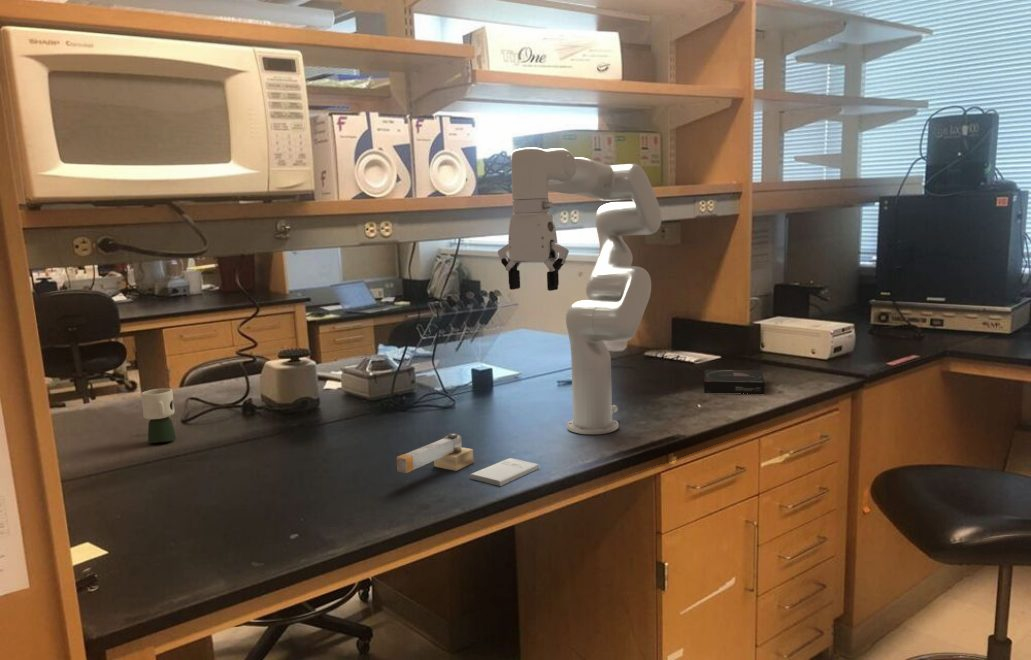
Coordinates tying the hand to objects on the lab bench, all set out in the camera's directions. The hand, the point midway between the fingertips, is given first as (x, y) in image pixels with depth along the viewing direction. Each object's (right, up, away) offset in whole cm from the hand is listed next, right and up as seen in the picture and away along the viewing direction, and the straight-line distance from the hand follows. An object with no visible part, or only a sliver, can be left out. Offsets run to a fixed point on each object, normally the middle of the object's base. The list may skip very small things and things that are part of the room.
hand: (533, 289), depth 163 cm
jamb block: (-17, -38, +1) cm, 41 cm away
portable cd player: (+60, -26, +61) cm, 90 cm away
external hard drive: (-6, -39, -5) cm, 40 cm away
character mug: (-92, -37, +28) cm, 103 cm away
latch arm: (-21, -35, -5) cm, 42 cm away
